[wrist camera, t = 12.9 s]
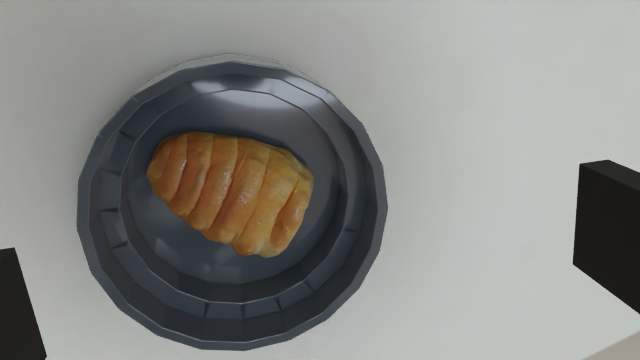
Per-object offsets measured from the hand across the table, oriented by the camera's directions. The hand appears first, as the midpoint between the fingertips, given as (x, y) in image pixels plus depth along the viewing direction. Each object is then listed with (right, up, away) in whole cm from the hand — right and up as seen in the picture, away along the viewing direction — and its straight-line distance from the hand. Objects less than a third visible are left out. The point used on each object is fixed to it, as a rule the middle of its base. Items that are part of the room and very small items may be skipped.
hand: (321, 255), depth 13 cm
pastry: (-5, +1, +21) cm, 22 cm away
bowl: (-5, +1, +22) cm, 22 cm away
